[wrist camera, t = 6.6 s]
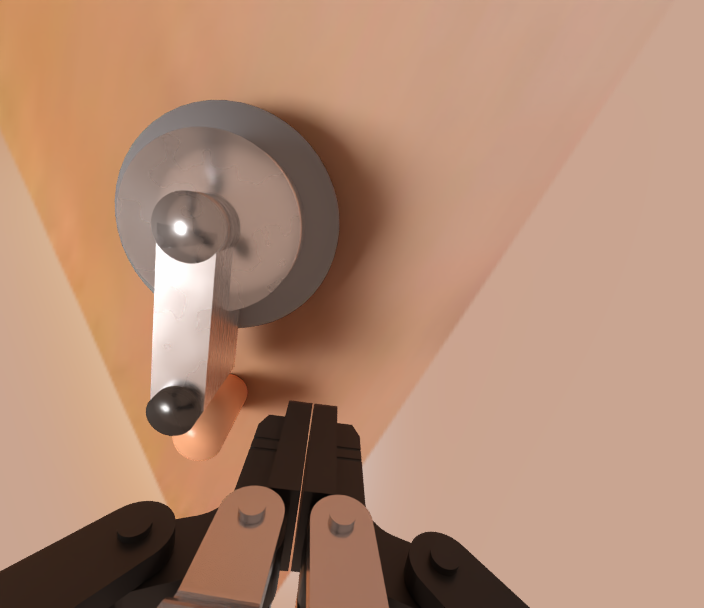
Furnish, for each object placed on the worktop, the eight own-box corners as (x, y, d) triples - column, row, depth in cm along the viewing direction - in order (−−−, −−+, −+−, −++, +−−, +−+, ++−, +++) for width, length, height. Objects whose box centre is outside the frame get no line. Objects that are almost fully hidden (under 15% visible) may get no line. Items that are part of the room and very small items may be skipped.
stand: (109, 136, 17) (29, 112, 13) (315, 91, 17) (305, 51, 12) (204, 413, 21) (168, 467, 17) (373, 381, 21) (381, 427, 16)
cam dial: (147, 122, 15) (65, 86, 10) (315, 154, 15) (304, 132, 11) (139, 369, 18) (72, 422, 13) (282, 390, 18) (263, 448, 14)
